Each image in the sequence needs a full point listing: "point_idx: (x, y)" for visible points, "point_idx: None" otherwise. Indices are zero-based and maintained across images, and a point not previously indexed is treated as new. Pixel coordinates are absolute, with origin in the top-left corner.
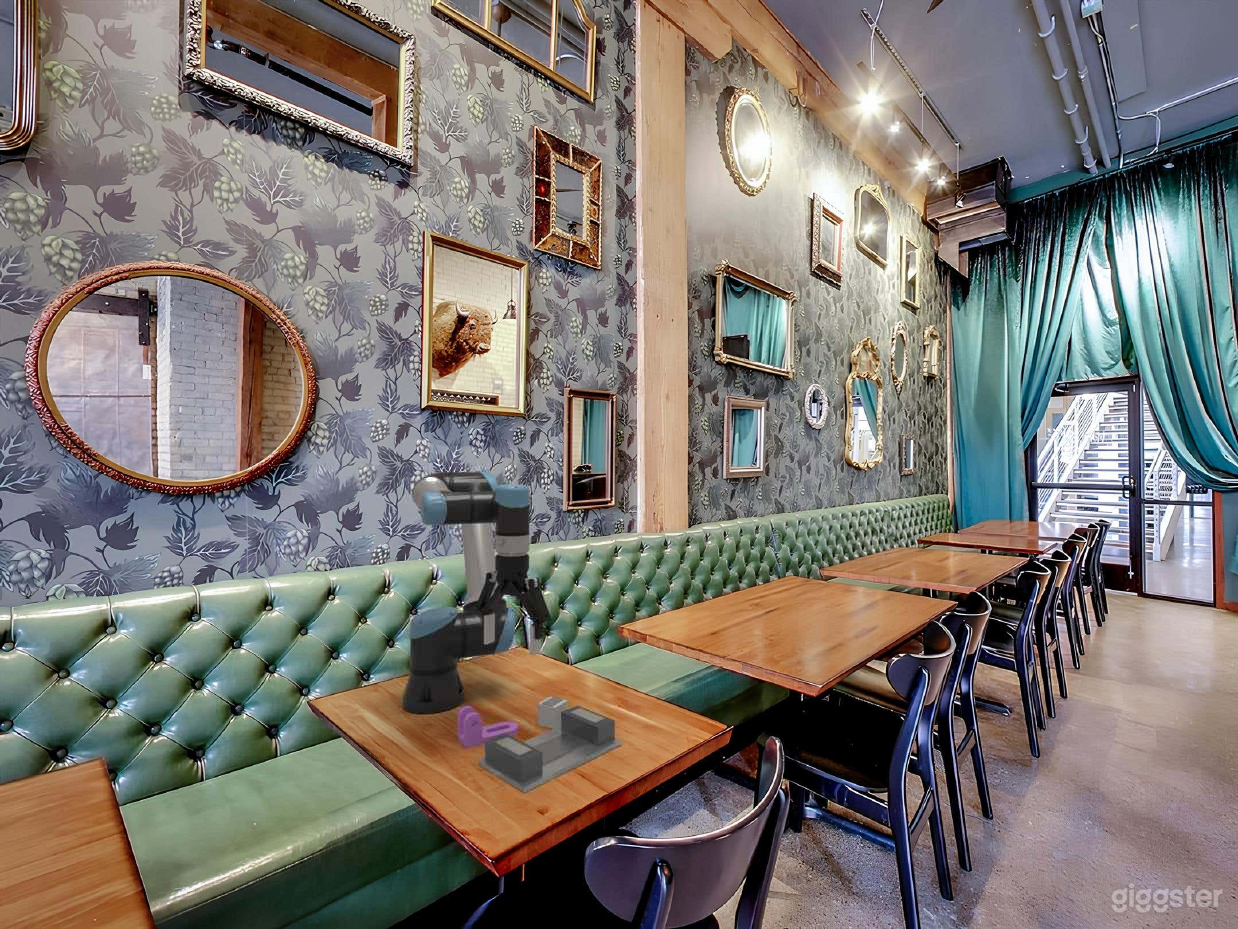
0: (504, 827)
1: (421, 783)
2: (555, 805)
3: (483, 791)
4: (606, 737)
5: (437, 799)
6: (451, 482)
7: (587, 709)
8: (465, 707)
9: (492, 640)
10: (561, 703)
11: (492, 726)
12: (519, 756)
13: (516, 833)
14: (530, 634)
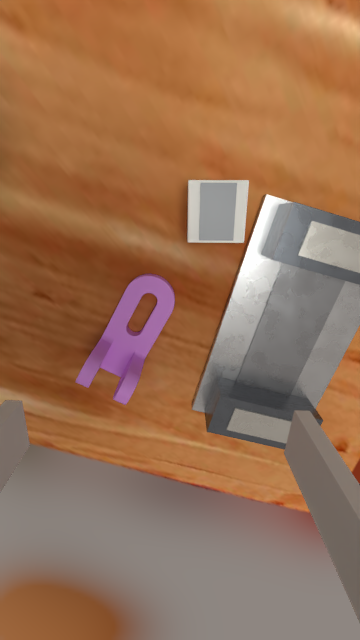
0: None
1: (156, 465)
2: (352, 433)
3: (244, 446)
4: None
5: (203, 478)
6: None
7: (331, 213)
8: (84, 381)
9: (19, 419)
10: (244, 209)
11: (124, 312)
12: None
13: None
14: (331, 551)
